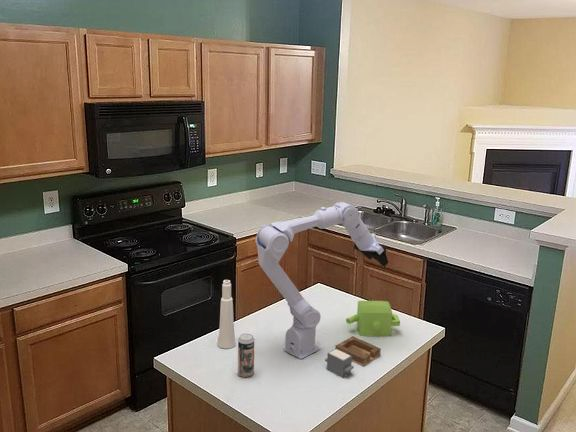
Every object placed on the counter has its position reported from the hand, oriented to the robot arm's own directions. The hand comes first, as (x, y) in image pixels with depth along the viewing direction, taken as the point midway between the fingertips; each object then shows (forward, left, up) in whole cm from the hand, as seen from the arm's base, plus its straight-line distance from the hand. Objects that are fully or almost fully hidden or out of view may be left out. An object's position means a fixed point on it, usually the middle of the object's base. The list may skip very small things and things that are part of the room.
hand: (378, 260), depth 178 cm
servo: (-27, -7, -27) cm, 39 cm away
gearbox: (+1, +1, -27) cm, 27 cm away
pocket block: (-15, -5, -26) cm, 31 cm away
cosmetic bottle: (-41, +28, -27) cm, 57 cm away
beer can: (-48, +11, -27) cm, 56 cm away
